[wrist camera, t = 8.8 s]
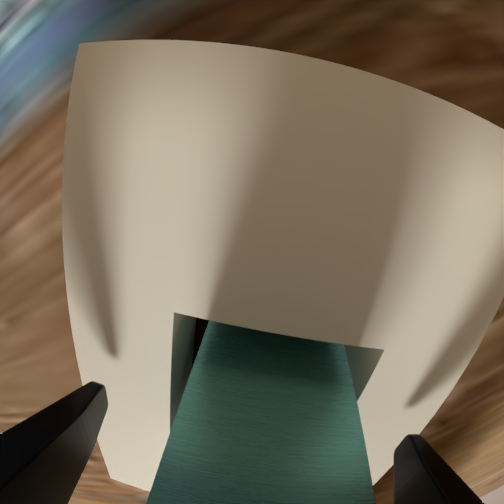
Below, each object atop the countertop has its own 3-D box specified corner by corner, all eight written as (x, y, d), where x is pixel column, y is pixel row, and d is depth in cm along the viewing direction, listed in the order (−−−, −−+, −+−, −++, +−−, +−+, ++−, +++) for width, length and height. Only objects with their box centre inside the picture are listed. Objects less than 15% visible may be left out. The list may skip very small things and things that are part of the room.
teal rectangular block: (333, 303, 11) (386, 606, 2) (304, 382, 13) (307, 619, 4) (222, 282, 11) (118, 590, 2) (210, 365, 13) (145, 600, 4)
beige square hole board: (483, 143, 9) (548, 156, 5) (335, 467, 15) (339, 517, 12) (137, 63, 9) (79, 43, 6) (131, 431, 15) (111, 478, 12)
